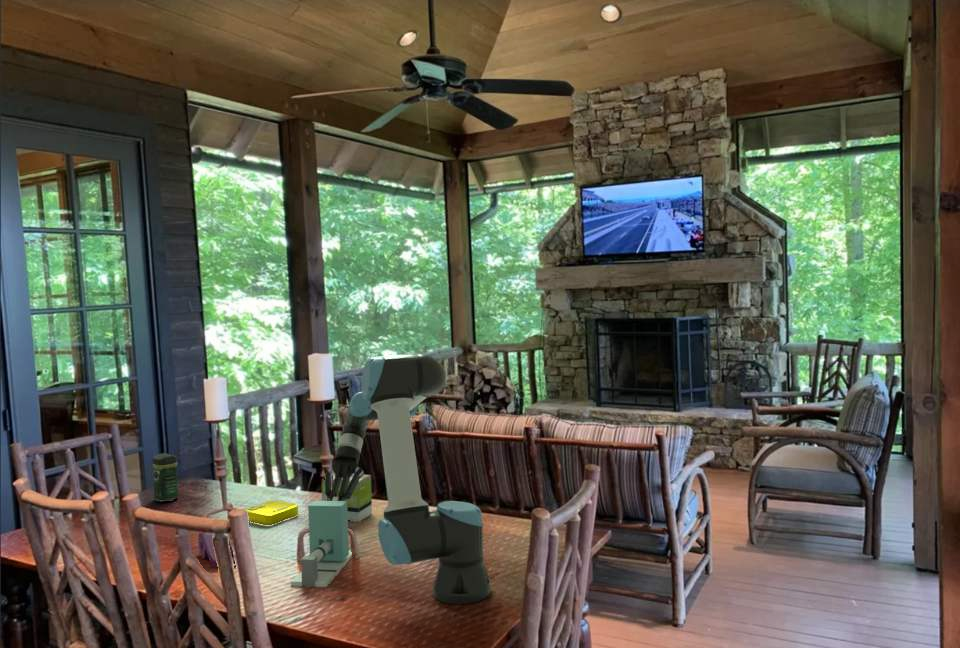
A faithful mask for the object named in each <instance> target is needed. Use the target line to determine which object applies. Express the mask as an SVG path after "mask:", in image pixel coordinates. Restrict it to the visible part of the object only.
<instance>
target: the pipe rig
mask: <svg viewBox="0 0 960 648" xmlns="http://www.w3.org/2000/svg"><path fill="white" fill-rule="evenodd" d="M332 548H333V540H332V539H325V541H324V542H323V543H322V544H321V545H320V546H319V547H317V548H316V549H314V551H313V553H312V554H310V553H309V555H304V556H303V557H302V558H301V559H300V565H301V566H300V567H301V568H300V569H301V571H300V572H299V573H298V574H297V575H296V576H295V577H294V578H293V579H292V580H290V586H291V585H292V586H291V587H302V586H308V587H307V588H315V586H316V588H327V587H328V586H329V585H330V584H331V583H332V581H334V579H335V578H336V577H337V576H338V575H339V573H340V572H341V571H342V570H343V569H344V568H343V567H345V566H347V564H348V563H349V562H350V561H351V560H350V558H351V557H352V552H351V549H349V555H348V556H347V557H346V558H345V559H344V560H343V561H328V560H322V559H323V558H324V557H325V555H326V554H327V553H328V552H329V551H330V550H331V549H332ZM352 558H353V557H352ZM352 558H351V559H352ZM349 560H350V561H349ZM348 561H349V562H348ZM347 562H348V563H347ZM346 563H347V564H346ZM342 568H343V569H342ZM341 569H342V570H341ZM340 570H341V571H340ZM335 576H336V577H335ZM334 577H335V578H334ZM328 584H329V585H328Z"/></svg>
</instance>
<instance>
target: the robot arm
mask: <svg viewBox="0 0 960 648" xmlns="http://www.w3.org/2000/svg"><path fill="white" fill-rule="evenodd" d="M446 381H447V375H446V370H445V368H444V366H443V364H442V363H441V362H440V361H439V360H437V358H435V357H433V356H431V355H430V354H426V353H425V354H424V353H408V354H382V355H378V356H371V357H369V358H367V360H366V361H365V363H364V365H363V368H362V376H361V391H359V392H356V393H354V394H353V395H352V397H351V399H350V401H349V403H348V409H347V412H346V414H345V417H344V418H345V419H344V423H343V428H342V431H341V435H340V438H339V441H338V444H337V449H336V453H335V456H334V462H332V463H331V466H330V467H329V468H330V470H328V468H327V467H324V468H323V472H324V475H325V476H324V478H325V494H326V496H327V498H328V499H330V501H344V500H345V499H350V498H351V495H352V493H353V491H354V489H355V487H356V485H357V483H358V481H359V479H360V478H361V477H362V476H363V475H365V472H364V470H363V468H361V467H359V461H360V458H361V457H360V456H361V452H362V448H363V445H364V439H365V436H366V433H367V428H368V424H369V422H370V421H377V422H378V429H379V430H378V431H379V437H380V446H381V455H382V461H383V463H382V464H383V472H384V479H385V487H386V495H387V496H386V497H387V503H388V504H387V506H386V507H385V509H384V510H382V511H383V518H381V519H379V521H378V523H377V529H378V530H377V533H378V538H379V543H380V544H379V545H380V547H381V550H382V552H383V553H382V554H383V555H384V557H385V559H386V561H388V563H390V564H391V565H393V566H400V565H401V566H402V565H411V564H414V563H419V562H425V561H430V560H435V559H438V566H437V570H436V575H435V578H434V581H433V584H432V594H433V597H434V598H435V599H436V600H438V601H440V602H442V603H446V604H449V605H450V604H451V605H452V604H453V605H466V604H467V605H468V604H473V603H477V602H480V601H483V600H485V599H486V598H488V597H489V596H490V595H491V592H492V591H491V590H492V588H491V587H492V586H491V585H492V584H491V581H490V578H489V574H488V571H487V569H486V565H485V563H484V536H483V535H484V532H483V531H484V529H483V526H484V523H483V515H482V511H481V508H480V507H479V506H477V505H476V504H473V503H470V502H466V501H460V500H459V501H457V500H444V501H441V502H439V503H438V504H437V506H436V510H433V511H430V508H429V503H428V502H426V501H425V500H424V499H423V498H422V493H421V492H422V491H421V487H420V486H421V485H420V478H419V471H418V470H419V469H418V461H417V457H416V454H417V453H416V449H415V447H416V446H415V441H414V433H413V426H412V419H411V417H414V416H415V415H416V414H417V411H418V405H420V403H422V402H423V401H424V400H426V399H427V398H430V397H434V396H436V395H437V394H439V393H440V391H442V390H443V388H444V387H445V385H446ZM326 468H327V469H326ZM333 472H334V473H335V479H334V483H333V487H332V490H331V475H332V474H333ZM352 474H354V476H353V478H352V480H351V482H350V484H349V486H348V482H349V481H350V476H351V475H352ZM342 478H343V479H342ZM341 481H342V483H341V487H340V492H339V494H338V490H339V486H340V482H341ZM347 486H348V488H347ZM337 494H338V496H339V498H338V497H337Z"/></svg>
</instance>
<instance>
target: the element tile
mask: <svg viewBox="0 0 960 648" xmlns="http://www.w3.org/2000/svg"><path fill="white" fill-rule="evenodd" d="M244 509H245V510H247V512H248V516H249V523H248V524H251V523H250V521H251V522H253V523H254V522H255V523H259V524H263V525H272V524H275V523H278V522H280V521H283V520H285V519H288V518H291V517H294V516H296V515H298V516H299V505H298V504H295V503H291V502H286V501H281V500H274V499H271V500H267V501H264V502H261V503H258V504H255V505H252V506H248V507H246V508H244Z"/></svg>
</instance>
